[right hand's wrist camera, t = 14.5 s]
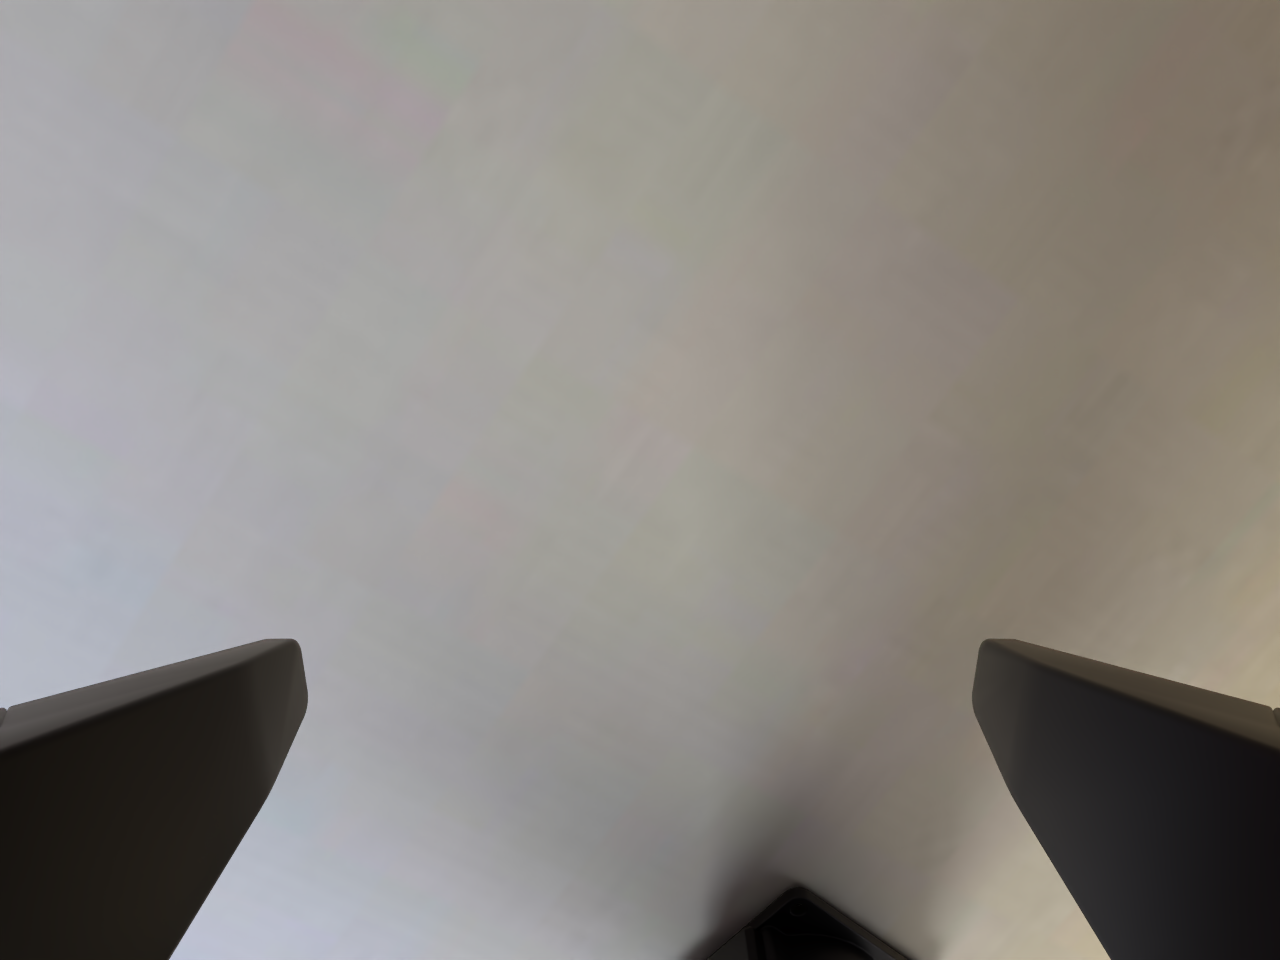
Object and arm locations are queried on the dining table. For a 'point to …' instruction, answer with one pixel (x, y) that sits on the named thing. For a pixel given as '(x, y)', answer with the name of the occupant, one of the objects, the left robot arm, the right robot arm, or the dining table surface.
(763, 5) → the dining table surface
